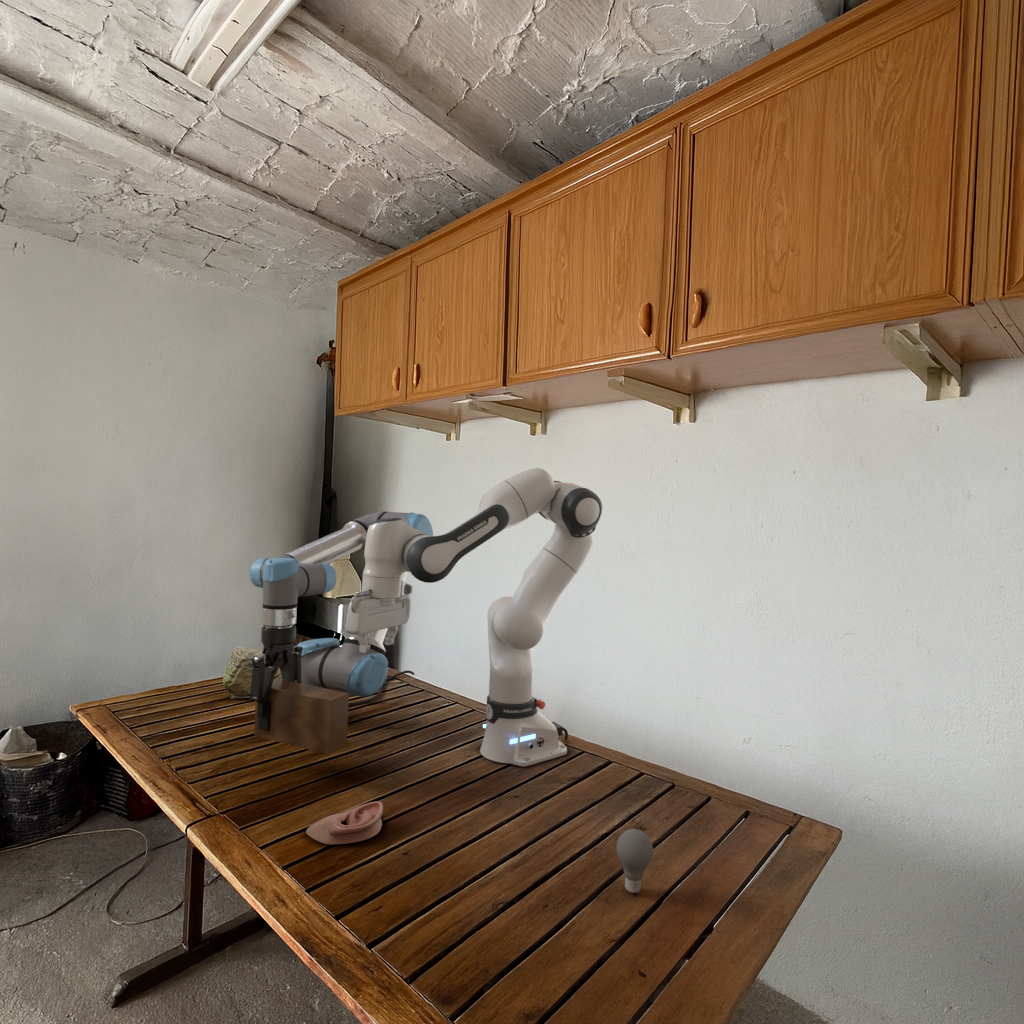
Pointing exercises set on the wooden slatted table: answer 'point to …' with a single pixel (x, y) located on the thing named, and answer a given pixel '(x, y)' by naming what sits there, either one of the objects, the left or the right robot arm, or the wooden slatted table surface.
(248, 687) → the fossil
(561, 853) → the wooden slatted table surface
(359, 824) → the anatomical model
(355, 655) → the left robot arm
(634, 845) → the light bulb
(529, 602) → the right robot arm
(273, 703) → the box
